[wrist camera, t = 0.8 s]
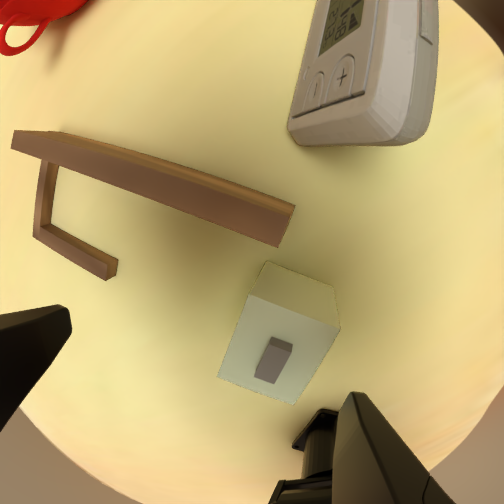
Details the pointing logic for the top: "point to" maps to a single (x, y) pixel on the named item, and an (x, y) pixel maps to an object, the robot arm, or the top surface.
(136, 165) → the wall board
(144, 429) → the top surface
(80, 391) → the top surface
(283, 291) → the cabinet block
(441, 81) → the top surface
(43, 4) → the ceramic cup
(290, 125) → the digital clock
